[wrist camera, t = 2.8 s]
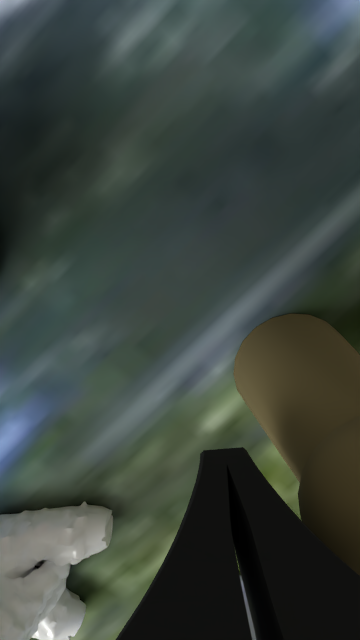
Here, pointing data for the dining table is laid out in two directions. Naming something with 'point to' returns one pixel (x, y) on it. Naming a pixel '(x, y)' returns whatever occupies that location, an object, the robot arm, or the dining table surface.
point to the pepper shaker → (310, 419)
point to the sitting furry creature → (46, 568)
